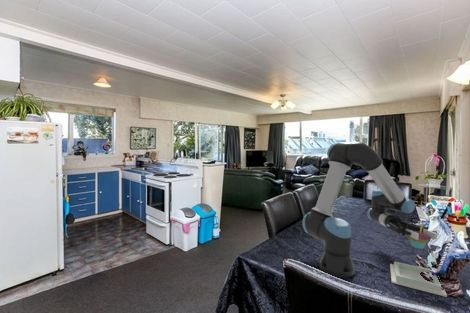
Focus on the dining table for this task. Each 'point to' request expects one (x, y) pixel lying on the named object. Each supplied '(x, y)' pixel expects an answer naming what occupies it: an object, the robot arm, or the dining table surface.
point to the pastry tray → (414, 278)
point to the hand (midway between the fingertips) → (427, 236)
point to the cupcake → (422, 239)
